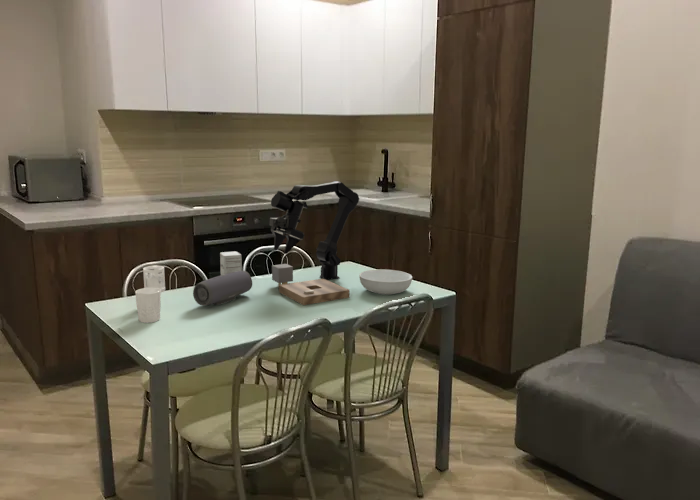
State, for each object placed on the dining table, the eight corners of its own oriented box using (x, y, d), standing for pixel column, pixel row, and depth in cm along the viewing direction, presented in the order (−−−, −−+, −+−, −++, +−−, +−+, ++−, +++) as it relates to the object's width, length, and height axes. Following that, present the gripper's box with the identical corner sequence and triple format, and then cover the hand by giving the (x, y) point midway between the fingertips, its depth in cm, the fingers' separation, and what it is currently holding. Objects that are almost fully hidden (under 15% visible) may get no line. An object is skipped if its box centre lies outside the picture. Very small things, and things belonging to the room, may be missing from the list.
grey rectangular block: (286, 283, 243) (286, 263, 242) (292, 287, 238) (292, 266, 237) (272, 285, 240) (271, 265, 238) (278, 289, 235) (278, 268, 233)
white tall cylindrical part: (147, 309, 207) (145, 267, 203) (143, 304, 212) (141, 263, 209) (168, 306, 210) (166, 265, 207) (163, 301, 216) (161, 261, 213)
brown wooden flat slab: (323, 285, 241) (323, 276, 241) (349, 297, 225) (349, 287, 224) (279, 292, 231) (278, 282, 230) (303, 305, 214) (303, 295, 214)
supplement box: (220, 281, 245) (219, 252, 242) (238, 280, 248) (237, 250, 245) (224, 286, 238) (223, 255, 236) (242, 284, 241) (241, 254, 239)
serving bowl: (408, 301, 222) (409, 283, 221) (354, 297, 226) (354, 279, 225) (414, 286, 242) (414, 270, 241) (364, 283, 246) (364, 267, 245)
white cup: (153, 314, 201) (151, 286, 199) (166, 319, 196) (165, 290, 194) (132, 320, 195) (130, 290, 193) (145, 325, 190) (143, 295, 188)
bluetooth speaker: (235, 292, 230) (234, 267, 228) (253, 296, 225) (253, 270, 223) (192, 306, 211) (191, 279, 209) (211, 311, 206) (210, 283, 204)
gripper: (266, 206, 241) (253, 242, 240) (287, 210, 225) (273, 248, 224) (288, 215, 247) (276, 250, 246) (310, 219, 231) (297, 257, 231)
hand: (280, 251), depth 237 cm, fingers open, 9 cm apart
